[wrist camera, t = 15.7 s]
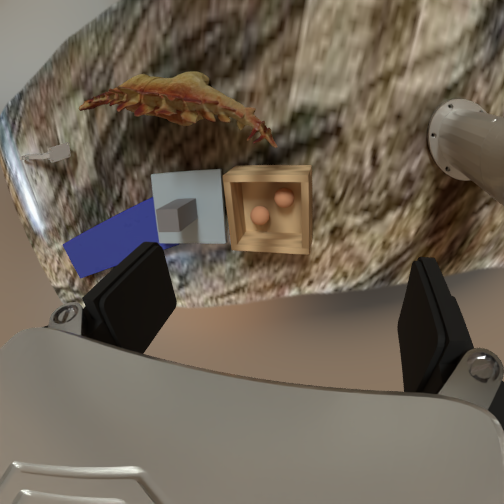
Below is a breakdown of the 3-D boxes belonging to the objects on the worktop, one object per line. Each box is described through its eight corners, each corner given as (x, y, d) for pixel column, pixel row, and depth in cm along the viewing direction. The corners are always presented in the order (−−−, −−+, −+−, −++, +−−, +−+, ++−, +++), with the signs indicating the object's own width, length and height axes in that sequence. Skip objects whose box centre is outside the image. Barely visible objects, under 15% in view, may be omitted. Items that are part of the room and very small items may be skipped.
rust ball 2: (295, 185, 45) (292, 191, 42) (295, 204, 46) (293, 211, 44) (275, 185, 45) (271, 191, 43) (276, 203, 47) (273, 210, 44)
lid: (222, 168, 47) (204, 175, 39) (227, 241, 51) (212, 262, 43) (153, 173, 49) (126, 181, 41) (161, 241, 53) (138, 260, 45)
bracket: (71, 156, 52) (29, 170, 45) (53, 152, 64) (21, 164, 58) (69, 141, 50) (26, 155, 44) (51, 141, 63) (19, 152, 56)
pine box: (311, 165, 43) (308, 175, 38) (312, 236, 49) (308, 254, 44) (235, 165, 47) (222, 175, 42) (242, 233, 52) (231, 250, 47)
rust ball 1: (270, 203, 47) (266, 210, 45) (271, 220, 49) (267, 228, 46) (252, 203, 48) (247, 209, 46) (253, 220, 49) (248, 227, 47)
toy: (278, 144, 46) (271, 165, 33) (107, 107, 46) (53, 120, 33) (293, 93, 42) (292, 94, 29) (114, 63, 41) (60, 63, 28)
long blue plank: (70, 239, 67) (86, 274, 70) (62, 244, 65) (78, 279, 67) (161, 192, 53) (182, 241, 55) (152, 196, 50) (174, 248, 53)
